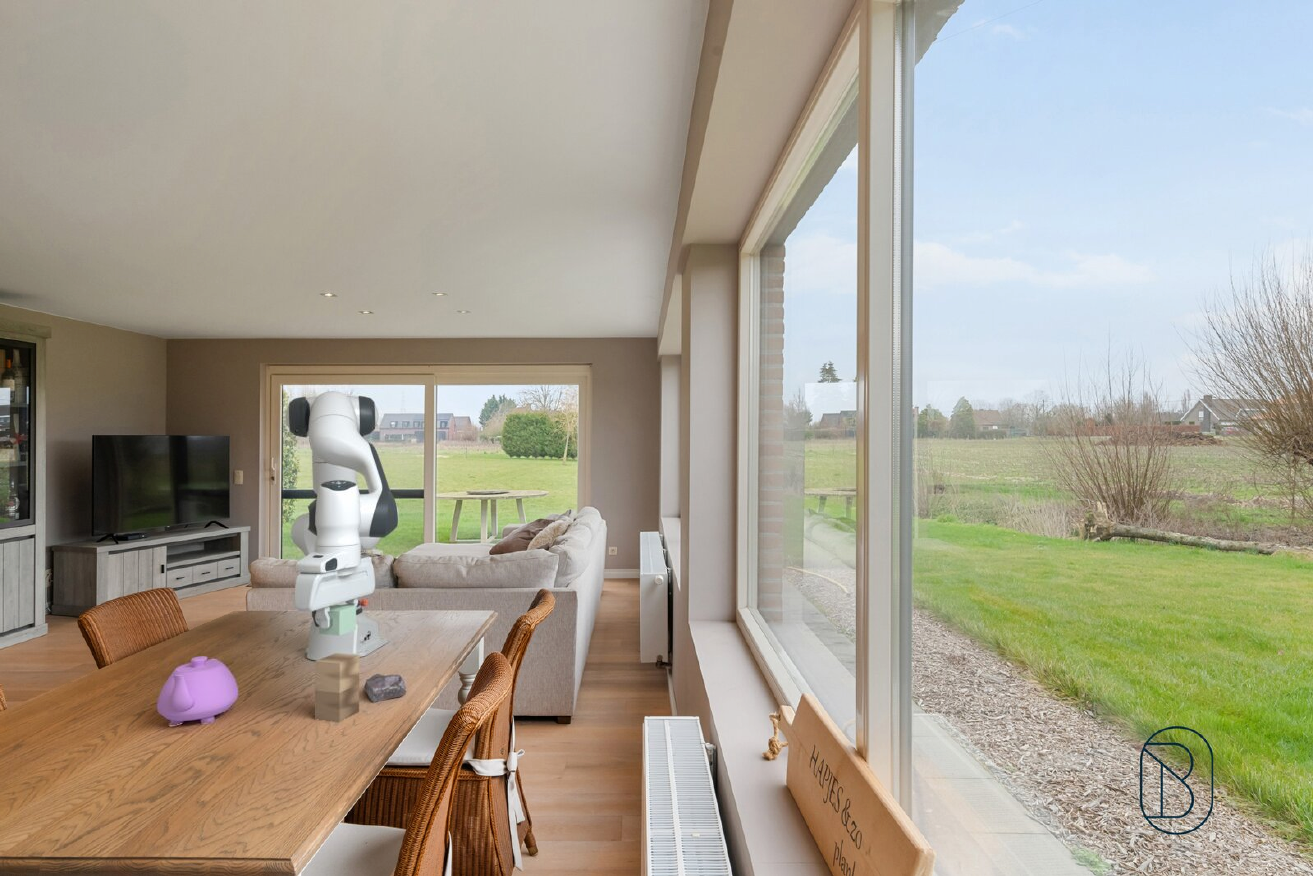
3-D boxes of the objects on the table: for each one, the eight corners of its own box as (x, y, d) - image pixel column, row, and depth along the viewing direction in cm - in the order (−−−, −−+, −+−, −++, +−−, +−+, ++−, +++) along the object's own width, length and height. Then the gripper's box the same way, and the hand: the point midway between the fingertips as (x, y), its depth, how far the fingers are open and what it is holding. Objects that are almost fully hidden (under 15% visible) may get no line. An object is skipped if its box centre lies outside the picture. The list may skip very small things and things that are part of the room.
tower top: (335, 681, 150) (335, 653, 150) (359, 683, 148) (359, 655, 148) (315, 690, 144) (315, 661, 144) (339, 693, 142) (339, 663, 143)
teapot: (213, 735, 136) (213, 671, 136) (131, 742, 133) (132, 676, 133) (252, 700, 155) (252, 644, 156) (181, 704, 153) (182, 647, 153)
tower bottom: (335, 709, 150) (335, 681, 150) (359, 712, 148) (359, 683, 148) (314, 719, 144) (315, 690, 144) (339, 722, 142) (339, 693, 142)
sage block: (336, 628, 149) (336, 604, 150) (355, 629, 148) (356, 606, 148) (318, 633, 145) (319, 609, 145) (339, 635, 143) (339, 611, 143)
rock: (395, 684, 166) (395, 665, 166) (409, 698, 157) (409, 678, 157) (359, 692, 161) (359, 672, 161) (371, 706, 152) (371, 685, 152)
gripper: (358, 550, 158) (358, 612, 157) (289, 564, 138) (288, 635, 137) (382, 551, 156) (382, 613, 156) (315, 566, 136) (315, 637, 136)
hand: (337, 624), depth 146 cm, fingers closed on sage block, 5 cm apart
